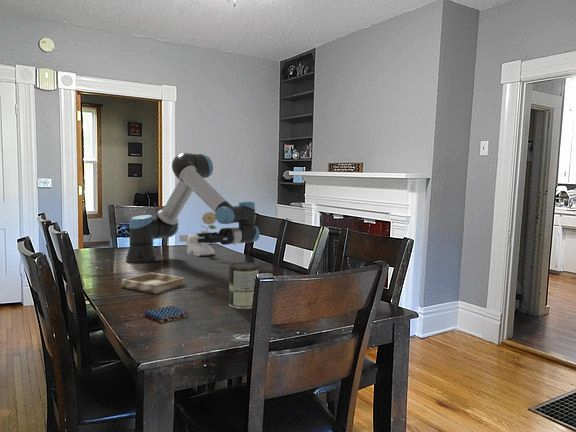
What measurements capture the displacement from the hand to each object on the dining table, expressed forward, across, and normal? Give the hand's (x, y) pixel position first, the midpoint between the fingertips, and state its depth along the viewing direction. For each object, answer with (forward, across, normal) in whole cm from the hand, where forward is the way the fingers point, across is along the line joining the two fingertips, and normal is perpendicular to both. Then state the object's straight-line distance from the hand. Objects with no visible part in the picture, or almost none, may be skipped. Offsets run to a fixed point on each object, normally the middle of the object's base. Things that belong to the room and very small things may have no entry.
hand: (185, 239), depth 183 cm
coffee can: (+2, -44, -18) cm, 47 cm away
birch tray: (+14, -1, -18) cm, 23 cm away
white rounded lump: (-4, -2, -7) cm, 8 cm away
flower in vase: (-40, +48, -18) cm, 65 cm away
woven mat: (+28, -39, -18) cm, 51 cm away
